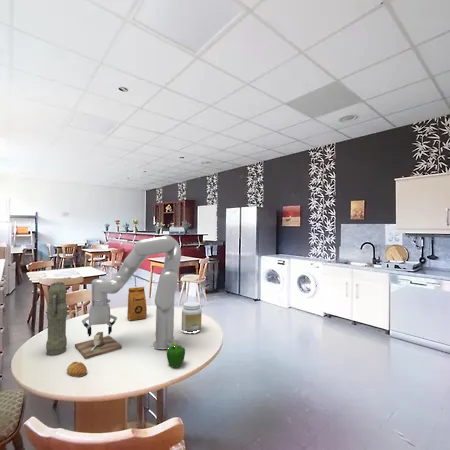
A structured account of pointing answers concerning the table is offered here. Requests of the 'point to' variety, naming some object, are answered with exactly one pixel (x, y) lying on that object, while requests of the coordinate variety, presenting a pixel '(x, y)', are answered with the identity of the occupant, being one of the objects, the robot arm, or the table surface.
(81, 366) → the pastry
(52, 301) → the thermos
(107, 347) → the wooden board
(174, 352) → the bell pepper
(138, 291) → the coffee package
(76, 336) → the table surface
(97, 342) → the knob
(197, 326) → the supplement tub
